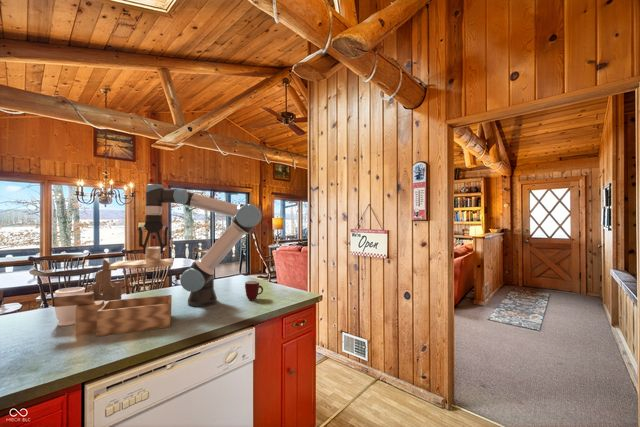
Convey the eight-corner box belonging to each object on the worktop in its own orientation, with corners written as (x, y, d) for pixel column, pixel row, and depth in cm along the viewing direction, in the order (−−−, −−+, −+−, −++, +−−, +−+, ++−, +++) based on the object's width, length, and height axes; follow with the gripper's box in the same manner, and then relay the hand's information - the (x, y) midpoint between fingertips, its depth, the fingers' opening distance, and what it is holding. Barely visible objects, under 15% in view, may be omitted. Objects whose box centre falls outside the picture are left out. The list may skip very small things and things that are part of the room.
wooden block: (94, 301, 125) (94, 291, 125) (91, 303, 121) (91, 294, 121) (58, 304, 119) (58, 294, 120) (54, 307, 116) (54, 297, 116)
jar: (48, 325, 128) (49, 290, 128) (75, 317, 138) (75, 285, 138) (63, 328, 124) (64, 293, 125) (90, 320, 134) (90, 287, 134)
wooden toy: (84, 311, 148) (85, 261, 148) (86, 307, 153) (87, 259, 154) (120, 306, 156) (121, 259, 156) (121, 303, 161) (122, 258, 162)
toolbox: (171, 315, 142) (171, 291, 142) (169, 326, 128) (170, 300, 128) (84, 325, 128) (84, 299, 128) (71, 339, 113) (71, 310, 113)
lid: (173, 261, 160) (173, 245, 160) (172, 265, 145) (172, 248, 145) (116, 264, 149) (116, 247, 149) (108, 269, 134) (109, 250, 134)
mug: (259, 296, 178) (259, 279, 178) (265, 299, 172) (265, 282, 172) (242, 298, 172) (243, 281, 172) (247, 302, 166) (248, 284, 166)
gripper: (173, 214, 156) (173, 258, 156) (134, 214, 149) (133, 260, 148) (173, 214, 149) (172, 260, 149) (131, 214, 142) (131, 262, 141)
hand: (153, 260), depth 149 cm, fingers closed on lid, 5 cm apart
